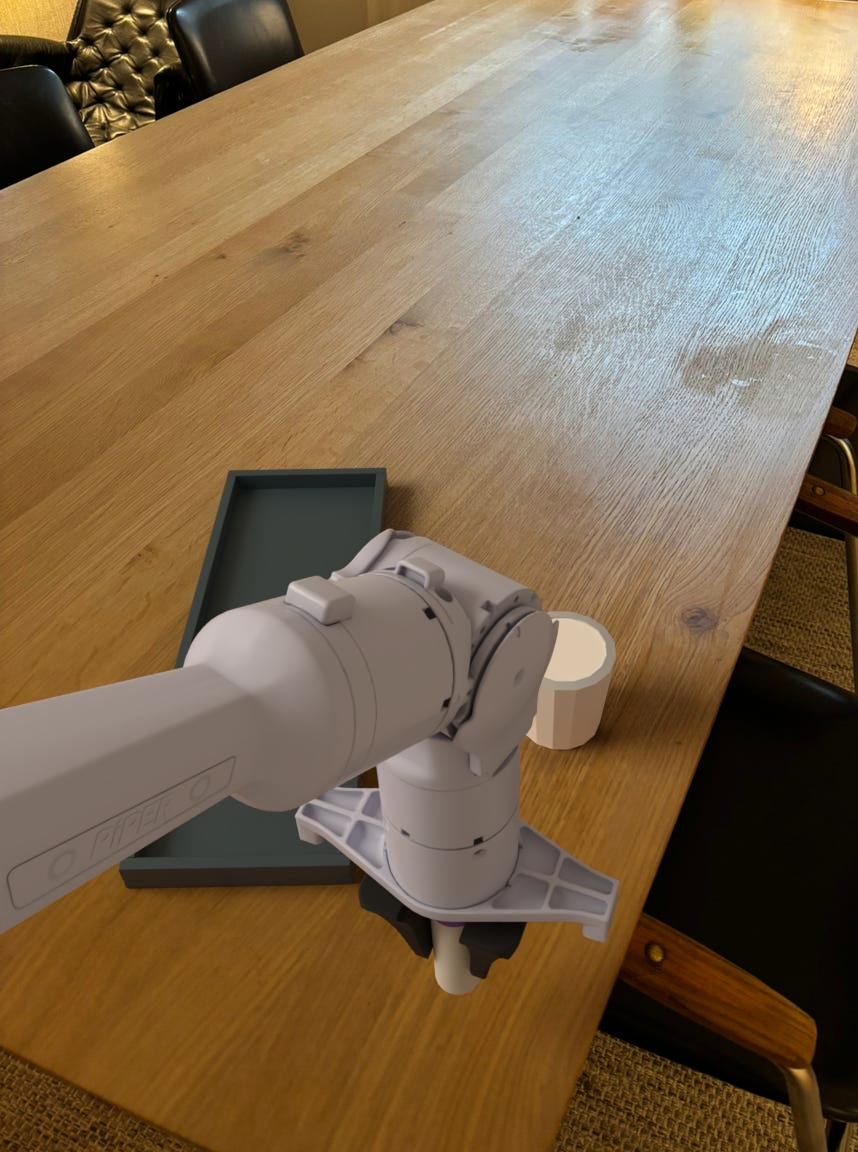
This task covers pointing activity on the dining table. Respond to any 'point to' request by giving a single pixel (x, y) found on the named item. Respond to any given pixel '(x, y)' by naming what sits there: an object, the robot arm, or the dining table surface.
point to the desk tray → (243, 577)
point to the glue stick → (451, 958)
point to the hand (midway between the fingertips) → (457, 948)
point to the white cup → (574, 683)
